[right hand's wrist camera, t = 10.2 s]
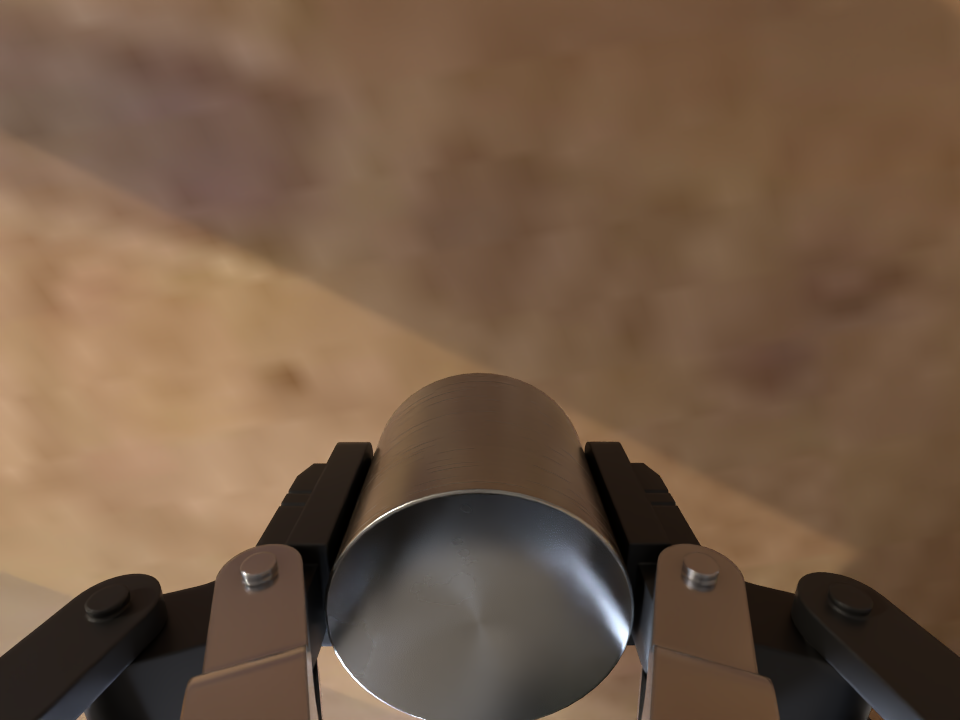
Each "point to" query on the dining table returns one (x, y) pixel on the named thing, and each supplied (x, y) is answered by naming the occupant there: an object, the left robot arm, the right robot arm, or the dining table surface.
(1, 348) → the dining table surface
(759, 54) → the dining table surface
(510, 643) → the can
